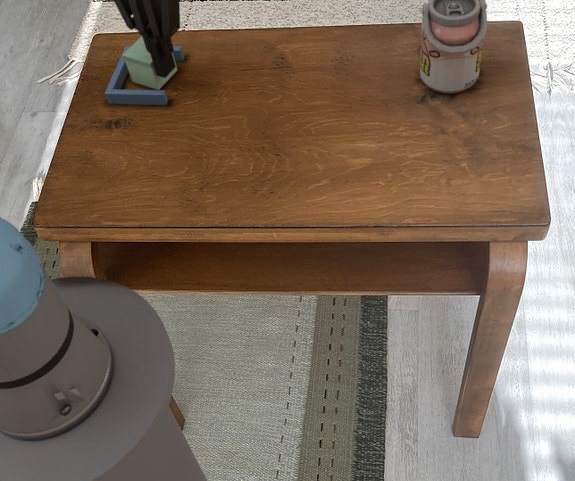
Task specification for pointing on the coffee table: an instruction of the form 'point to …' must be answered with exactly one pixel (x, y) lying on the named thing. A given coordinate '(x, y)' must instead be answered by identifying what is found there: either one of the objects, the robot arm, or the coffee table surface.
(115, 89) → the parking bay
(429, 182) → the coffee table surface
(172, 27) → the robot arm
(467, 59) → the beverage can
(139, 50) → the toy box
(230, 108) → the coffee table surface
